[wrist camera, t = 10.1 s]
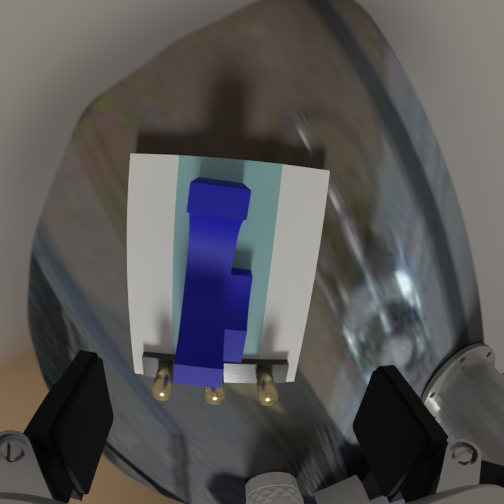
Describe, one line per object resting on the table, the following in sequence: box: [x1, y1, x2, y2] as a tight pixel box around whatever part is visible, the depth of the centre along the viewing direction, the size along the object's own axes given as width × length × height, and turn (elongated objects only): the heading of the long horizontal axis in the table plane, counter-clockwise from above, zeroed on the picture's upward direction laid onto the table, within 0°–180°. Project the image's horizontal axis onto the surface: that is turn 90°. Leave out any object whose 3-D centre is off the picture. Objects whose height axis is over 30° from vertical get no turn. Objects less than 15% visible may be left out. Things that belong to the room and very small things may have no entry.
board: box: [127, 154, 330, 382], centre depth 24 cm, size 14×18×2 cm
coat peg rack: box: [142, 351, 289, 406], centre depth 23 cm, size 12×2×4 cm, turn 84°
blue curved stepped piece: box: [173, 177, 253, 388], centre depth 19 cm, size 12×4×6 cm, turn 171°
